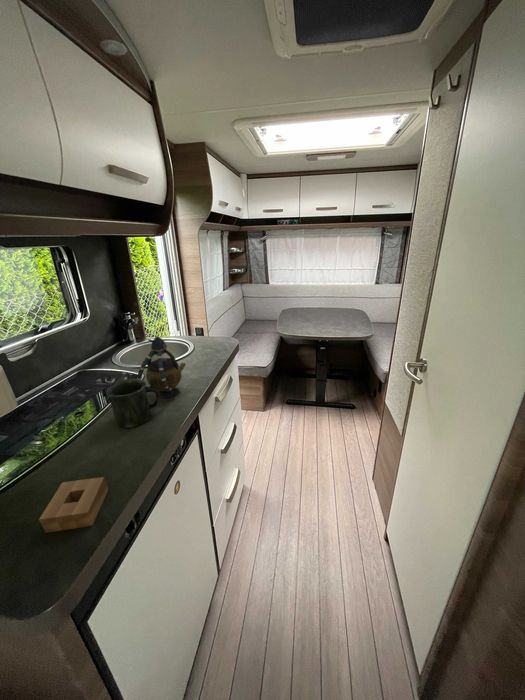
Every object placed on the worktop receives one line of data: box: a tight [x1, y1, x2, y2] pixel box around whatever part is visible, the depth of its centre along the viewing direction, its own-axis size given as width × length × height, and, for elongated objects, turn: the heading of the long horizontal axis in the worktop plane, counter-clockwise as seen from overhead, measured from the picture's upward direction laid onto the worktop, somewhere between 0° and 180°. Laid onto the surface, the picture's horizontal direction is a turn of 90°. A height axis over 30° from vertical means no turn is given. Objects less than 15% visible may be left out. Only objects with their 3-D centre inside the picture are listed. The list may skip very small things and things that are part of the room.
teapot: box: [136, 336, 186, 402], centre depth 103 cm, size 12×25×23 cm, turn 171°
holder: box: [38, 476, 109, 534], centre depth 60 cm, size 9×9×4 cm
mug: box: [105, 378, 160, 429], centre depth 89 cm, size 11×15×12 cm
